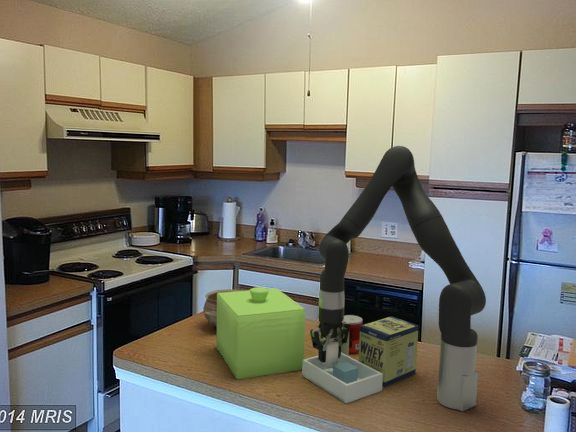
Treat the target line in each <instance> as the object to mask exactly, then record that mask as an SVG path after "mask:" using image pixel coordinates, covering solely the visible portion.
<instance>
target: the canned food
mask: <svg viewBox="0 0 576 432" xmlns="http://www.w3.org/2000/svg"><path fill="white" fill-rule="evenodd" d="M343 322H347V323H350V330H349V355H356V354H359V342H360V326H361V325H364V324H363V323H364V322H363V318H362V317H360V316H358V315H354V314H346V315H344V320H343Z"/></svg>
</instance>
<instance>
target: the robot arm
mask: <svg viewBox="0 0 576 432" xmlns="http://www.w3.org/2000/svg"><path fill="white" fill-rule="evenodd" d="M391 188H392V189H393V190H394V192H395V194H396V195H397V197H398V198H399V200H400V202H401V205H402V207H403V208H402V209H403V212H404V214H405V217H406V220H407V223H408V226H409V227H410V229H411V232H412V235H413V236H414V238H415V240H416V242H417V244H418V245H419V247H420V248H421V250H422V251H423V252H424V253H425V254H426V255H427V256H428V257H429V258H430V259H432V260H433V262H434V263H436V264H437V265H438V266H439V268H440V269H441V270H442V272H443V273H444V275H445V277H446V279H447V281H448V283H449V284H447V285H445V286H444V287H443V288H442V290H441V292H440V294H439V298H438V299H439V300H438V329H439V331H440V345H439V346H440V348H439V361H438V363H439V364H438V375H437V378H438V379H437V389H436V390H437V393H436V394H437V395H436V400H437V402H438V403H439V404H441V405H442V406H444V407H446V408H449V409H452V410H456V411H457V410H458V411H460V412H465V411H467V410H469V409H472V408H474V407H476V406H477V397H478V396H477V395H478V384H479V383H478V382H479V381H478V380H479V371H476V361H477V351H478V350H477V349H478V339H479V338H478V333H477V331H475V330H474V329H473V328H471V327H472V325H471V321H472V320H471V319H472V316H474V315H477V314H479V313H481V312H483V310H484V309H485V307H486V304H487V297H486V293H485V291H484V288H483V286H482V285H481V284H480V282H479V280H478V278H476V276H475V274H474V272H472V270H471V268H470V266H469V265H468V263H467V262H466V259H464V256H463V255H462V253H461V251H460V249H459V246H458V245H457V243H456V241H455V239H454V237H453V236H452V233H451V231H450V229H449V227H448V225H447V223H446V221H445V218H444V217H443V215H442V214H441V212H440V210H439V209H438V208H437V206H436V205H435V203H434V202H433V201H432V200H431V199H430V197H429V196H428V194H427V193H426V192H425V190H424V188H423V186H422V184H421V181H420V179H419V177H418V174H417V170H416V167H415V158H414V155H413V153H412V151H411V150H410V148H408V147H406V146H403V145H396V146H393V147H390V148H389V149H388V150H386V152H385V153H384V154H383V156H382V158H381V159H380V162H379V164H378V165H377V167H376V169H375V171H374V173H373V175H371V178H370V179H369V181H368V183H367V184H366V186H365V187H364V189H363V190H362V191H361V193H360V194H359V196H358V197H357V199H355V201H354V202H353V204H352V205H351V206H350V207H349V209H348V210H347V211H346V212H345V214H344V215H343V216H342V218H341V219H340V221H339V222H338V223H337V224H336V225H334V226H333V227H332V229H330V230H329V231H328V232H327V233H326V234H325V235H324V237H322V239H321V241H320V243H319V246H318V251H319V254H320V256H321V257H322V258H323V259H325V264H324V269H323V270H322V271H321V273H320V280H319V281H320V284H319V285H320V287H319V296H318V321H319V324H318V326H317V328H315V329H313V328H311V329H310V331H309V332H310V338H311V344H312V347H313V349H315V350H317V351H318V353H317V354H318V355H317V356H318V359H319V360H320V361H321V362H322V363H324V362H326V347H327V344H328V343H329V341H330V339H331V338H333V340H336V341H338V342H339V346H338V358H340V356H341V346H342V344H343V343H347V339H348V334H349V330H350V324H348V323H346V322H342V321H343V320H344V316H345V299H346V298H345V277H346V276H345V275H346V272H347V269H348V268H347V267H348V264H349V263H348V262H349V258H350V256H349V255H350V254H349V253H350V252H349V251H350V250H349V247H348V245H347V244H348V243H349V242H350V241H351V240H353V239H357V238H358V237H360V235H361V234H362V233H363V232H364V231H365V229H366V228H367V226H368V225H369V223H370V222H371V221H372V219H373V218H374V217H375V215H376V213H377V211H378V209H379V208H380V205H381V203H382V202H383V199H384V198H385V196H386V195H387V193H388V192H389V191H390V189H391ZM343 336H344V338H343ZM322 343H323V346H322Z"/></svg>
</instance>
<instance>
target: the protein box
mask: <svg viewBox="0 0 576 432" xmlns="http://www.w3.org/2000/svg"><path fill="white" fill-rule="evenodd" d="M418 339H419V325H418V324H415V323H412V322H409V321H406V320H403V319H400V318H397V317H395V316H391V315H390V316H388V317H385V318H382V319H378V320H375V321H372V322H368V323H365V324H363V325H361V326H360V342H359V353H358V361H359V362H361V363H363V364H365V365H367V366H369V367H371V368H373V369H375V370H376V371H378V372H380V373H382V374H383V381H382V388H385V387H387V386H390V385H392V384H394V383H397V382H399V381H401V380H403V379H406V378H408V377H410V376H412V375H416V372H417V359H418V358H417V356H418V342H419V341H418Z"/></svg>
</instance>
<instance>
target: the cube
mask: <svg viewBox="0 0 576 432" xmlns="http://www.w3.org/2000/svg"><path fill="white" fill-rule="evenodd" d="M333 376H334V377H336V378H338V379H339V380H341V381H343V382H345V383H346V384H348V383H351V382H354V381H357V377H358V368H357V367H355V366H353V365H352V364H350V363H348V362H343V363H340V364H336V365H333Z"/></svg>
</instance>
